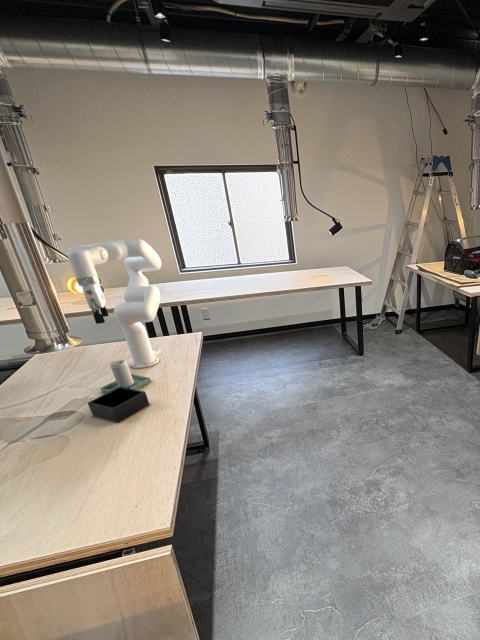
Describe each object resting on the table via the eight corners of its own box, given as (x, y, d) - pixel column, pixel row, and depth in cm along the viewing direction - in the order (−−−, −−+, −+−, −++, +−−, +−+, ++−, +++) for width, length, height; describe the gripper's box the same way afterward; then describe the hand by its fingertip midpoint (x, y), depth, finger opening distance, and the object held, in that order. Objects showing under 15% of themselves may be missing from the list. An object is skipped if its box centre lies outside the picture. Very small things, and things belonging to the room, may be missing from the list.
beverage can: (127, 389, 184) (118, 365, 179) (115, 388, 186) (106, 364, 180) (137, 383, 190) (129, 359, 184) (125, 382, 191) (117, 358, 185)
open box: (125, 399, 178) (120, 386, 175) (149, 404, 173) (145, 391, 170) (93, 416, 166) (87, 402, 163) (118, 423, 161) (113, 409, 158)
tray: (131, 377, 196) (129, 373, 196) (151, 381, 192) (150, 377, 191) (101, 392, 184) (100, 388, 183) (122, 396, 180) (120, 392, 179)
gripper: (94, 283, 165) (109, 324, 173) (102, 275, 179) (115, 312, 187) (72, 286, 163) (88, 327, 171) (82, 277, 177) (96, 315, 185)
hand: (102, 319), depth 179 cm, fingers open, 9 cm apart
